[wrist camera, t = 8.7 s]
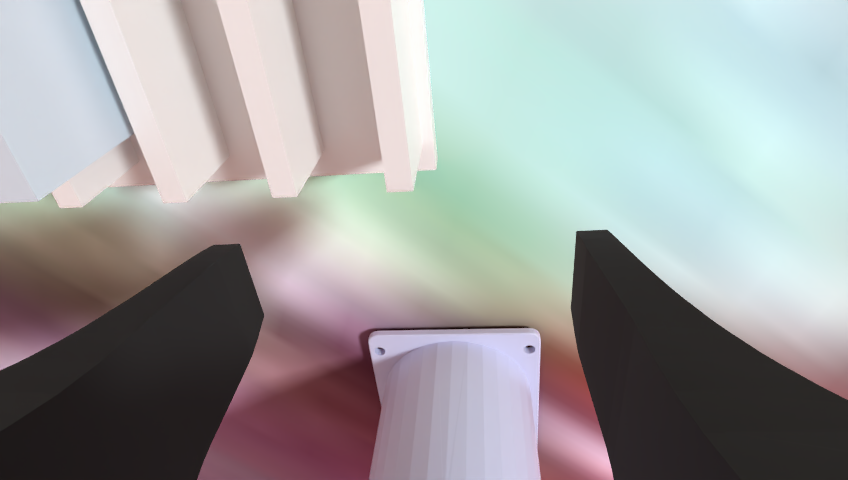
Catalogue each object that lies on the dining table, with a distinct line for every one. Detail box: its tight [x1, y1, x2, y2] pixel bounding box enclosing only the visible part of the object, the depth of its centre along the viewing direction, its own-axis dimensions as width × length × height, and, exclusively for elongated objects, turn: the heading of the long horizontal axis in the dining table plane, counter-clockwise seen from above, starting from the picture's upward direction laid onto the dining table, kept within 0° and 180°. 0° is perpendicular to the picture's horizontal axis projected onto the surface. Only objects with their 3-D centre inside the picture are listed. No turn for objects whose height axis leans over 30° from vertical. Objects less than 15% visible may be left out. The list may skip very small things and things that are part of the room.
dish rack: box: [52, 0, 438, 208], centre depth 16 cm, size 13×16×4 cm
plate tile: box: [0, 0, 134, 203], centre depth 14 cm, size 7×2×7 cm, turn 5°
